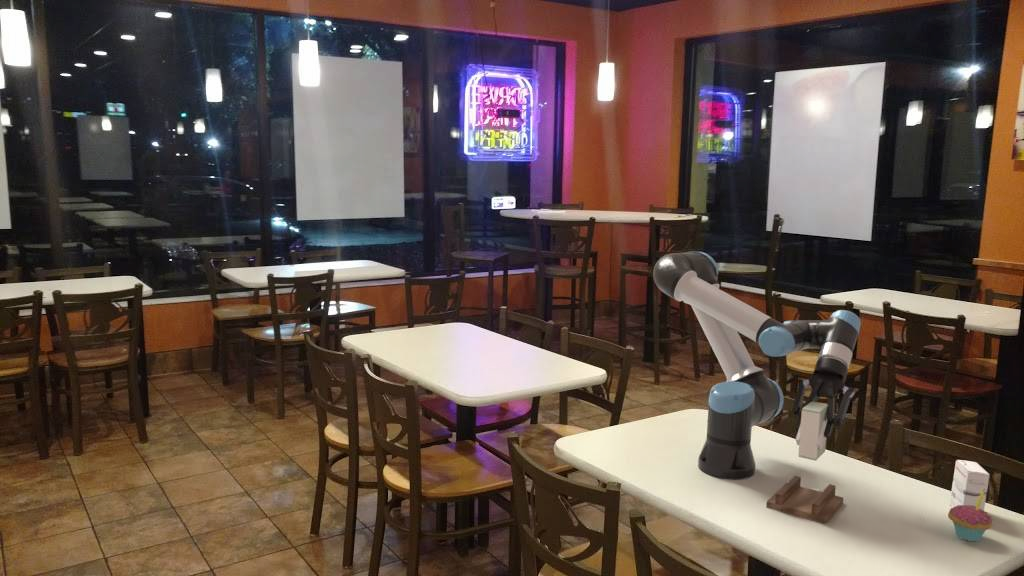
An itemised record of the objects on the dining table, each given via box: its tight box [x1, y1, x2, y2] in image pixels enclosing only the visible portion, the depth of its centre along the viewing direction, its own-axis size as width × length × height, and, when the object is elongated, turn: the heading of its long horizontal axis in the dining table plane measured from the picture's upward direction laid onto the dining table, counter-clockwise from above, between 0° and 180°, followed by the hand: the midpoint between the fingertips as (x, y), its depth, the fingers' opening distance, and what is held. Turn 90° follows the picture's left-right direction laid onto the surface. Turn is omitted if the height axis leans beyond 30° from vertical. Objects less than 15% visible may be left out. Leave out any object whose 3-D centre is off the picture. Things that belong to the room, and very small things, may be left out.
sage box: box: [798, 401, 828, 461], centre depth 184 cm, size 4×8×12 cm, turn 143°
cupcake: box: [947, 489, 993, 542], centre depth 172 cm, size 9×8×12 cm
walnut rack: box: [766, 475, 844, 525], centre depth 187 cm, size 14×15×4 cm
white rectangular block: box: [949, 459, 990, 511], centre depth 185 cm, size 9×5×12 cm, turn 168°
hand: (808, 444), depth 182 cm, fingers closed on sage box, 4 cm apart
